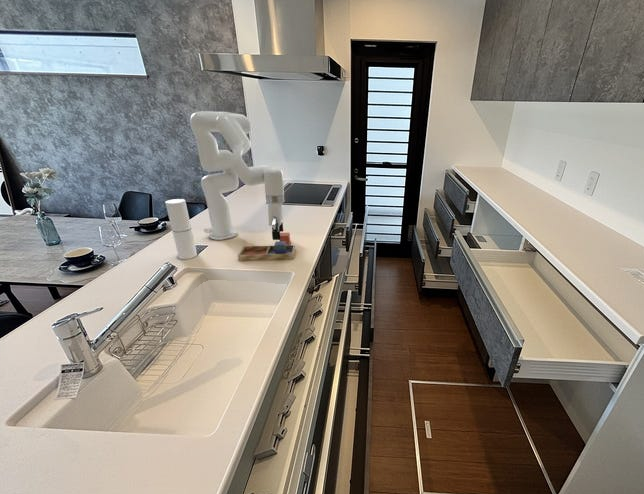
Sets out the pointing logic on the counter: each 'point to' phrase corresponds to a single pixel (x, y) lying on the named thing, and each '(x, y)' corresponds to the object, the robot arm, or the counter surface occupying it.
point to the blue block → (280, 247)
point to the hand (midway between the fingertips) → (278, 235)
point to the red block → (285, 237)
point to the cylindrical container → (181, 228)
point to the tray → (264, 253)
